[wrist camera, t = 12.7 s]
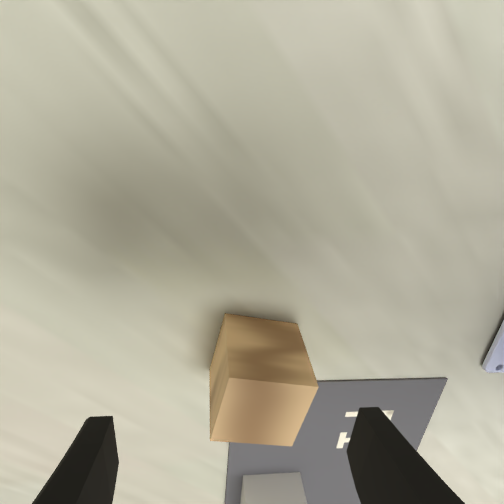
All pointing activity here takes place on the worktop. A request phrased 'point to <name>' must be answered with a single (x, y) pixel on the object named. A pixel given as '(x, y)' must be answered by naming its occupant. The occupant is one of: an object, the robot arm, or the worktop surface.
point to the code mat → (335, 436)
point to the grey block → (273, 489)
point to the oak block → (259, 382)
